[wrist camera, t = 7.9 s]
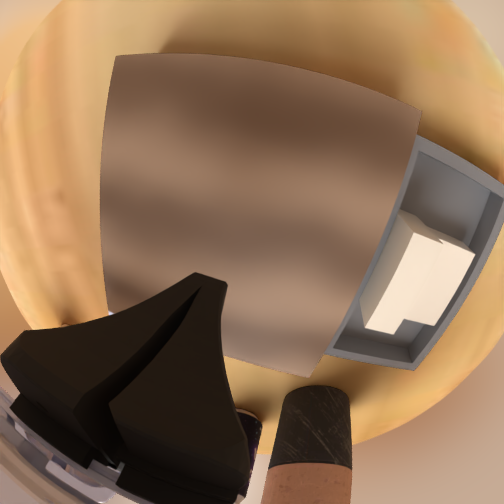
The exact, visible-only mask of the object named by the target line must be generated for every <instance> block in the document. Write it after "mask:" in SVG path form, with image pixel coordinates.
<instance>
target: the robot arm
mask: <svg viewBox="0 0 504 504" xmlns="http://www.w3.org/2000/svg"><path fill="white" fill-rule="evenodd" d="M227 288H228V284H227V283H226V282H225V281H222V280H219V279H216V278H213V277H210V276H207V275H204V274H201V273H197V272H194V273H192V274H190V275H189V276H187V277H185V278H184V279H182V280H181V281H179V282H177V283H176V284H174V285H172V286H171V287H169V288H167V289H165V290H164V291H162V292H160V293H158V294H156V295H155V296H153V297H151V298H149V299H147V300H145V301H143V302H141V303H139V304H137V305H134V306H132V307H130V308H128V309H125V310H123V311H120V312H117V313H115V314H114V313H112V312H110V311H109V316H106V317H102V318H99V319H95V320H92V321H88V322H85V323H80V324H76V325H71V326H65V327H59V328H52V329H40V330H26V331H24V332H23V333H21V334H20V335H19V336H18V337H17V338H16V340H14V341H13V343H12V344H10V346H9V347H8V348H7V349H6V350H5V351H4V352H3V353H2V354H1V355H0V360H1V363H2V366H3V367H4V369H5V371H6V373H7V374H8V376H9V377H10V379H11V380H12V382H13V383H14V385H15V386H16V387H17V389H18V390H19V392H20V394H19V396H18V397H17V398H16V399H15V400H14V399H13V398H12V397H11V396H10V395H9V394H8V393H7V392H6V391H5V390H4V389H3V388H2V387H1V386H0V504H100V503H105V502H108V500H109V499H111V498H113V497H114V495H115V494H116V493H117V494H119V495H122V496H124V497H126V498H128V499H130V500H132V501H134V502H136V503H139V504H234V503H235V502H236V500H237V496H238V492H239V489H241V488H242V487H243V486H244V485H246V484H247V483H248V481H249V478H250V457H249V449H248V441H247V436H246V434H245V431H244V429H243V427H242V424H241V421H240V419H239V416H238V414H237V411H236V408H235V404H234V401H233V398H232V395H231V391H230V387H229V383H228V379H227V375H226V370H225V364H224V358H223V350H222V339H221V315H222V311H223V306H224V302H225V297H226V293H227Z"/></svg>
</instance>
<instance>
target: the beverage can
mask: <svg viewBox="0 0 504 504" xmlns="http://www.w3.org/2000/svg"><path fill="white" fill-rule="evenodd" d="M236 411H237V414H238V416H239V419H240V421H241V424H242V427H243V429H244V431H245V434H246V436H247V441H248V449H249V457H250V478H251V474H252V470H253V466H254V462H255V458H256V454H257V449H258V445H259V440H260V436H261V432H262V427H263V426H262V424H261V422H260V421H259V420H258V419H257V417H256V416H255V415H254V414H253V413H251V412H248V411H246V410H242V409H236ZM250 478H249V481H248V483H247V484H246V485H244V486H243V487H242V488H241V489H239V492H238V496H237V500H236V502H235V503H234V504H240V502H241V501H242V500H243V499H244V498H245V497H246V494H247V489H248V486H249V482H250Z"/></svg>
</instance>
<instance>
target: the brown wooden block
mask: <svg viewBox="0 0 504 504" xmlns="http://www.w3.org/2000/svg"><path fill="white" fill-rule="evenodd" d="M421 115H422V111H421V110H419V109H417V108H414V107H412V106H410V105H408V104H406V103H404V102H401V101H399V100H397V99H394V98H392V97H389V96H387V95H385V94H382V93H380V92H377V91H374V90H372V89H369V88H366V87H363V86H361V85H358V84H355V83H352V82H349V81H346V80H342V79H339V78H336V77H332V76H329V75H325V74H322V73H318V72H314V71H310V70H306V69H302V68H298V67H293V66H289V65H284V64H279V63H273V62H268V61H262V60H255V59H248V58H241V57H232V56H222V55H210V54H190V53H152V54H133V55H121V56H116V58H115V62H114V67H113V72H112V77H111V82H110V87H109V93H108V100H107V106H106V114H105V122H104V131H103V141H102V154H101V173H100V229H101V247H102V261H103V272H104V281H105V289H106V297H107V304H108V311H110V312H112V313H114V314H115V313H117V312H120V311H123V310H125V309H128V308H130V307H132V306H134V305H137V304H139V303H141V302H143V301H145V300H147V299H149V298H151V297H153V296H155V295H156V294H158V293H160V292H162V291H164V290H165V289H167V288H169V287H171V286H172V285H174V284H176V283H177V282H179V281H181V280H182V279H184V278H185V277H187V276H189V275H190V274H192V273H194V272H197V273H201V274H204V275H207V276H210V277H213V278H216V279H219V280H222V281H225V282H226V283H227V284H228V288H227V293H226V297H225V302H224V306H223V311H222V315H221V339H222V350H223V355H224V356H227V357H231V358H234V359H237V360H241V361H244V362H247V363H251V364H254V365H258V366H262V367H265V368H269V369H273V370H277V371H281V372H285V373H289V374H293V375H298V376H302V377H307V378H309V377H310V376H311V374H312V372H313V371H314V369H315V368H316V366H317V364H318V363H319V361H320V359H321V358H322V356H323V354H324V352H325V351H326V349H327V347H328V346H329V344H330V342H331V340H332V338H333V337H334V335H335V333H336V331H337V329H338V328H339V326H340V324H341V322H342V320H343V318H344V316H345V314H346V313H347V311H348V309H349V307H350V305H351V303H352V301H353V299H354V297H355V295H356V293H357V291H358V289H359V287H360V285H361V282H362V280H363V278H364V276H365V274H366V272H367V270H368V267H369V265H370V263H371V261H372V258H373V256H374V254H375V252H376V249H377V247H378V245H379V242H380V240H381V237H382V235H383V232H384V230H385V227H386V225H387V222H388V220H389V217H390V215H391V212H392V209H393V207H394V204H395V201H396V198H397V196H398V193H399V190H400V187H401V184H402V181H403V178H404V175H405V172H406V169H407V165H408V162H409V159H410V156H411V152H412V149H413V145H414V142H415V138H416V134H417V131H418V127H419V123H420V119H421Z"/></svg>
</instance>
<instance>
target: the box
mask: <svg viewBox="0 0 504 504" xmlns="http://www.w3.org/2000/svg"><path fill="white" fill-rule="evenodd" d="M399 209H401V210H403V211H406V212H408V213H411V214H413V215H416V216H417V217H418V218H419V219H420V220H421V221H422V222H423V223H424V224H425V225H426V226H427V227H430V228H432V229H435V230H437V231H439V232H442V233H444V234H446V235H449V236H451V237H453V238H456V239H458V240H460V241H462V242H463V243H464V244H465V245H466V246H468V247H469V248H470V249H471V250H472V251H473V252H474V253H475V256H474V258H473V260H472V262H471V264H470V266H469V268H468V270H467V272H466V274H465V276H464V277H463V279H462V281H461V283H460V285H459V287H458V288H457V290H456V292H455V293H454V295H453V297H452V299H451V300H450V302H449V304H448V305H447V307H446V308H445V310H444V312H443V313H442V315H441V316H440V318H439V319H438V321H437V322H436V324H435V325H434V326H432V325H428V324H424V323H420V322H416V321H411V320H407V319H403V321H402V322H401V324H400V325H399V327H398V328H397V330H396V331H395V333H394V334H389V333H385V332H380V331H376V330H372V329H368V328H365V327H364V322H363V316H362V311H361V307H360V302H359V299H360V297H361V295H362V293H363V291H364V289H365V287H366V285H367V283H368V281H369V279H370V277H371V275H372V272H373V270H374V268H375V266H376V264H377V262H378V259H379V257H380V255H381V253H382V250H383V248H384V246H385V243H386V241H387V239H388V236H389V234H390V231H391V229H392V226H393V224H394V221H395V219H396V216H397V214H398V211H399ZM503 223H504V185H503V184H502V183H500V182H499V181H498V180H496V179H495V178H493V177H492V176H490V175H489V174H487V173H486V172H484V171H483V170H481V169H479V168H478V167H476V166H475V165H473V164H471V163H470V162H468V161H466V160H465V159H463V158H461V157H460V156H458V155H456V154H454V153H452V152H451V151H449V150H447V149H445V148H443V147H441V146H439V145H438V144H436V143H434V142H432V141H430V140H428V139H426V138H424V137H421V136H419V135H417V134H416V138H415V142H414V145H413V149H412V152H411V156H410V159H409V162H408V165H407V169H406V172H405V175H404V178H403V181H402V184H401V187H400V190H399V193H398V196H397V198H396V201H395V204H394V207H393V209H392V212H391V215H390V217H389V220H388V222H387V225H386V227H385V230H384V232H383V235H382V237H381V240H380V242H379V245H378V247H377V249H376V252H375V254H374V256H373V258H372V261H371V263H370V265H369V267H368V270H367V272H366V274H365V276H364V278H363V280H362V282H361V285H360V287H359V289H358V291H357V293H356V295H355V297H354V299H353V301H352V303H351V305H350V307H349V309H348V311H347V313H346V314H345V316H344V318H343V320H342V322H341V324H340V326H339V328H338V329H337V331H336V333H335V335H334V337H333V338H332V340H331V342H330V344H329V346H328V347H327V349H326V351H325V352H324V354H326V355H331V356H335V357H340V358H345V359H349V360H354V361H359V362H365V363H370V364H375V365H381V366H387V367H393V368H399V369H406V370H413V371H414V370H415V369H416V368H417V367H418V366H419V364H420V363H421V362H422V361H423V359H424V358H425V357H426V356H427V354H428V353H429V352H430V351H431V349H432V348H433V347H434V345H435V344H436V343H437V341H438V340H439V339H440V337H441V336H442V334H443V333H444V332H445V330H446V329H447V327H448V326H449V324H450V323H451V321H452V320H453V318H454V317H455V315H456V314H457V312H458V311H459V309H460V308H461V306H462V304H463V303H464V301H465V299H466V298H467V296H468V294H469V293H470V291H471V289H472V287H473V286H474V284H475V282H476V280H477V278H478V277H479V275H480V273H481V271H482V269H483V267H484V265H485V263H486V261H487V259H488V257H489V255H490V253H491V251H492V248H493V246H494V244H495V242H496V240H497V237H498V235H499V233H500V230H501V228H502V225H503Z"/></svg>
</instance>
